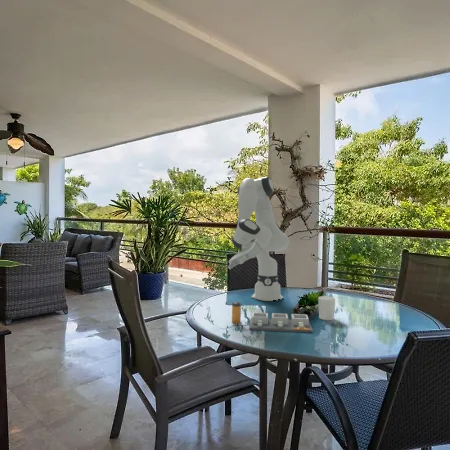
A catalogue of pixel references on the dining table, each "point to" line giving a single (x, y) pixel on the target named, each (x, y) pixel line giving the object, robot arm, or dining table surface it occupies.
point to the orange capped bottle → (236, 312)
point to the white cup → (326, 307)
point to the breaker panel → (275, 327)
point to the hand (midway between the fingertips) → (234, 265)
